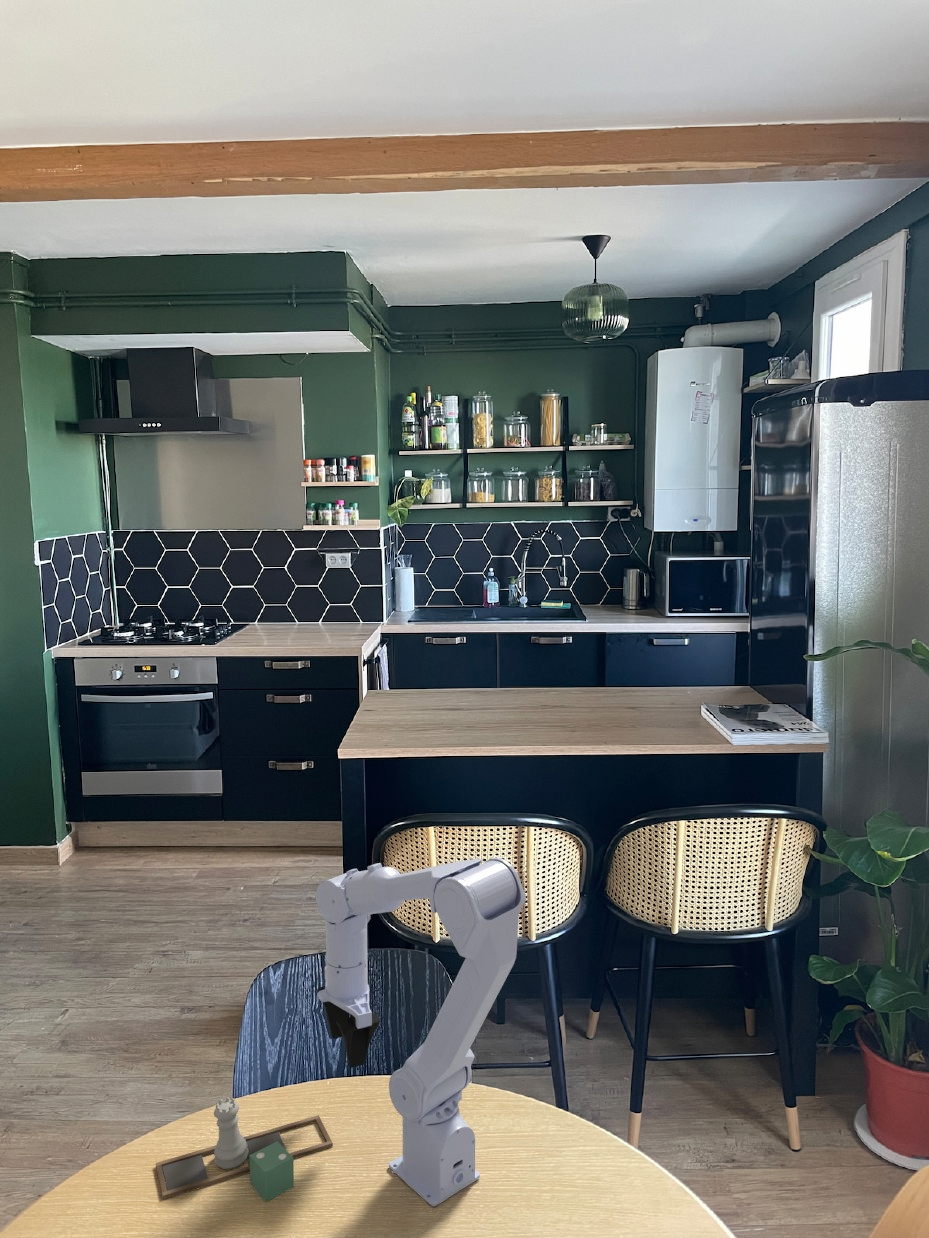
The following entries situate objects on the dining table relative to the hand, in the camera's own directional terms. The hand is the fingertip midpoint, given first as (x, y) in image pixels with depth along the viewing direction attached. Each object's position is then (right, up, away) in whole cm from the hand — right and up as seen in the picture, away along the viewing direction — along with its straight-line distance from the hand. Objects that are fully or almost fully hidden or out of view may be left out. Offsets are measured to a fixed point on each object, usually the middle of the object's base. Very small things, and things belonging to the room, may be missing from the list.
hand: (347, 1049), depth 129 cm
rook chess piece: (-14, -11, -8) cm, 20 cm away
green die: (-8, -11, -12) cm, 19 cm away
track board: (-13, -11, -7) cm, 18 cm away
